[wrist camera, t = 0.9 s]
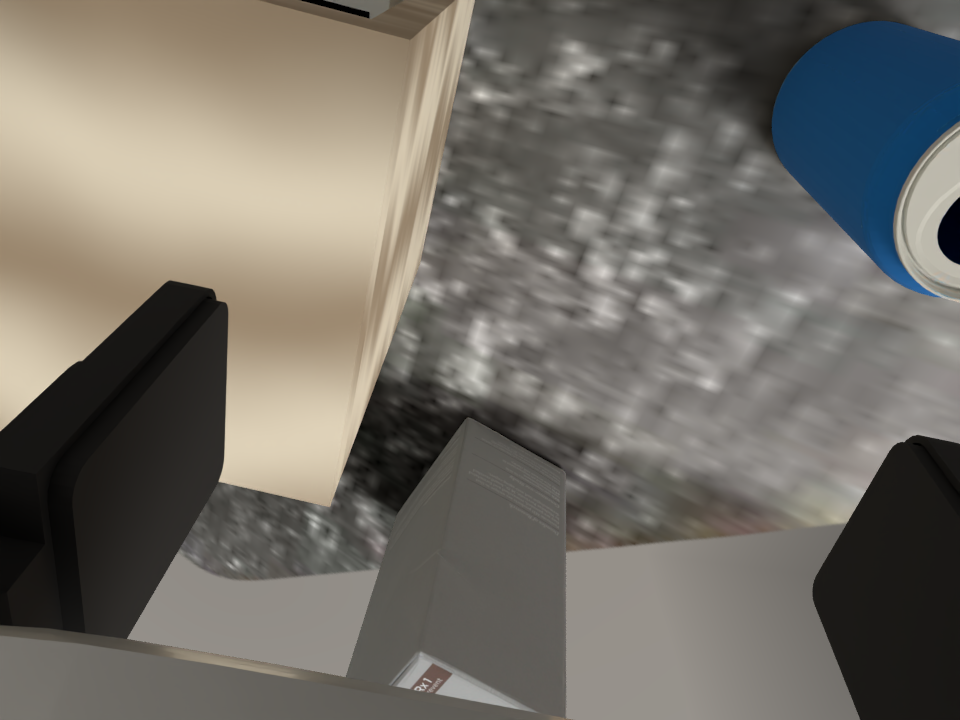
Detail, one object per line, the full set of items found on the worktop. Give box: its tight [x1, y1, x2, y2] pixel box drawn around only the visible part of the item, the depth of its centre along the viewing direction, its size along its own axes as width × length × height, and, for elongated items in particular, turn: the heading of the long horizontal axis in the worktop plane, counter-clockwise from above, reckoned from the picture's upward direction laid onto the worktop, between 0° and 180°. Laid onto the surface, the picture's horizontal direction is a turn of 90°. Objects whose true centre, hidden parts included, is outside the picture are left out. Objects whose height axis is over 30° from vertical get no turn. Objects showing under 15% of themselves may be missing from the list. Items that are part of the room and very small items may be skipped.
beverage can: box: [772, 21, 960, 302], centre depth 25 cm, size 6×6×12 cm
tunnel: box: [0, 0, 475, 507], centre depth 24 cm, size 12×15×17 cm
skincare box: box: [346, 418, 566, 718], centre depth 34 cm, size 8×7×16 cm
